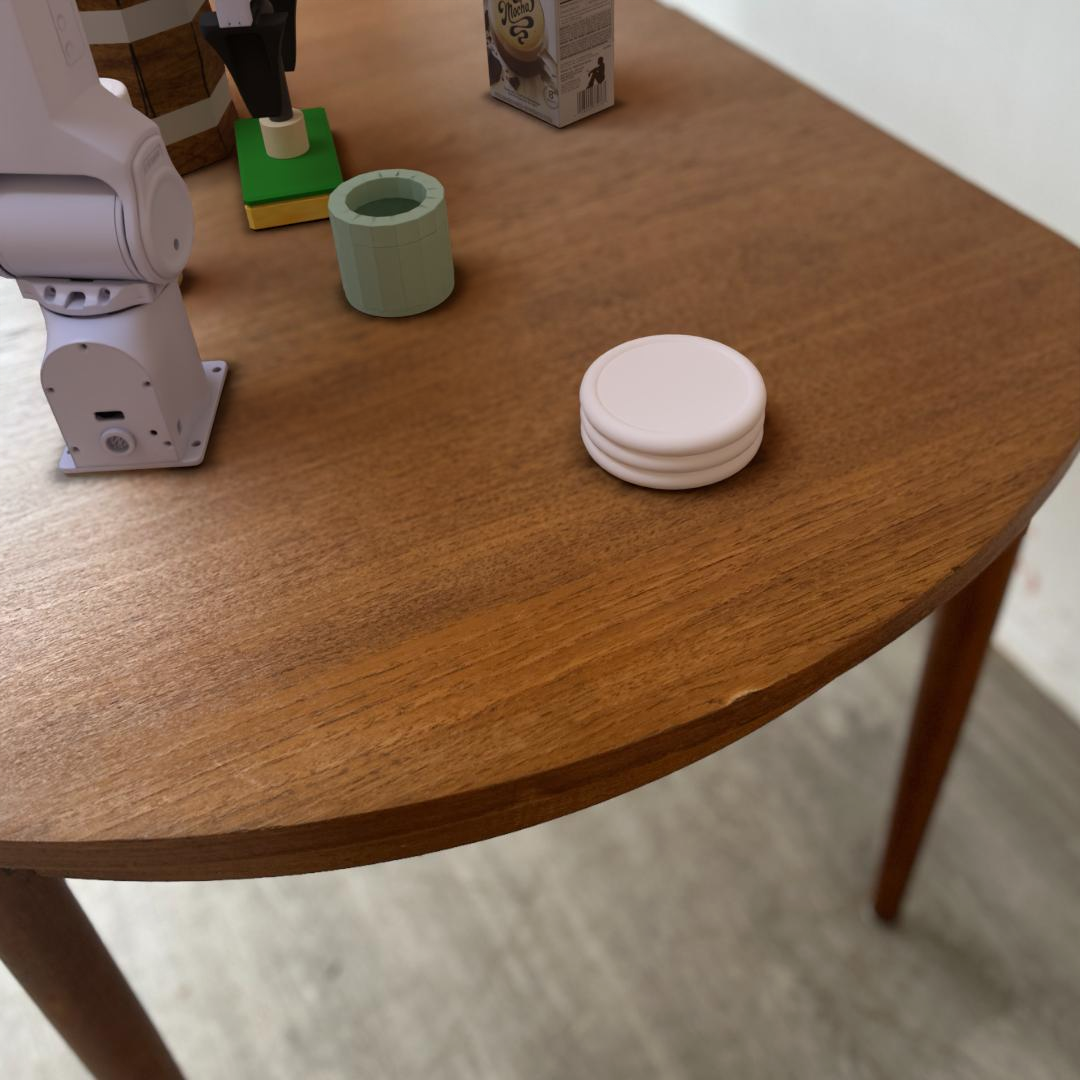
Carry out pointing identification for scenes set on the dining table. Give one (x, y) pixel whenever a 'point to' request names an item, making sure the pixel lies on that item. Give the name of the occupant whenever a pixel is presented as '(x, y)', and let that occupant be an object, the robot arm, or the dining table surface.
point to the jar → (392, 242)
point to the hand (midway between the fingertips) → (274, 92)
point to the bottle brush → (283, 119)
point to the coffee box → (551, 56)
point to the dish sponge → (287, 174)
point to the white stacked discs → (672, 411)
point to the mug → (166, 72)
